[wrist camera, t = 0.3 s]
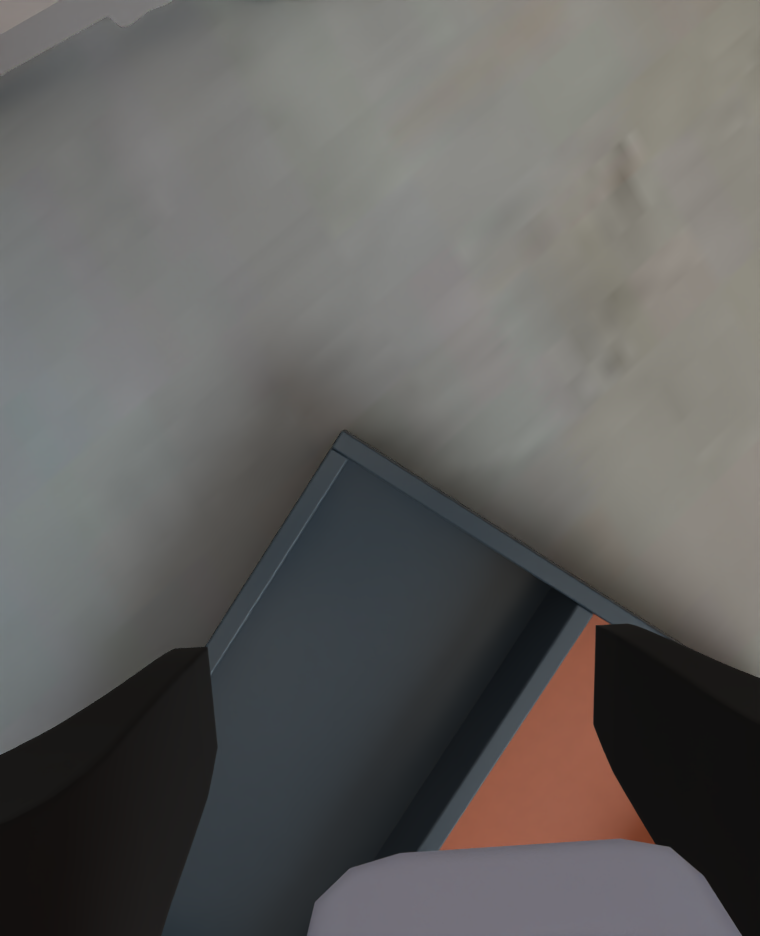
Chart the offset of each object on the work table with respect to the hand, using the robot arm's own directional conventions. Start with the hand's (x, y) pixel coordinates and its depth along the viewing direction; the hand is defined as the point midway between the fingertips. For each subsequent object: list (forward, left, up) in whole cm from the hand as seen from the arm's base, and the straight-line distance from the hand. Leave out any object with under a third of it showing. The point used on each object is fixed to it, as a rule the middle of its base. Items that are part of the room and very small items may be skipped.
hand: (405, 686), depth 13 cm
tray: (-6, -5, -11) cm, 13 cm away
